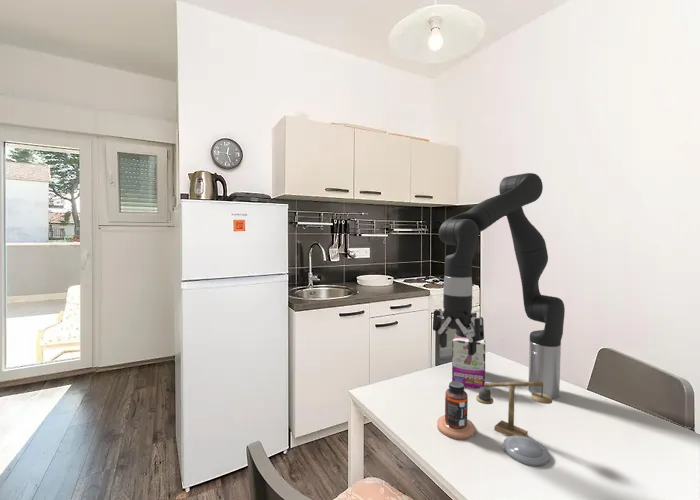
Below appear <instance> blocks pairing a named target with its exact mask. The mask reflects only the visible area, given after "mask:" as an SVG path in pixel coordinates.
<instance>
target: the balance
mask: <svg viewBox="0 0 700 500" xmlns="http://www.w3.org/2000/svg"><path fill="white" fill-rule="evenodd" d="M484 386H485V387H480V388H479V389H478V394H477V395H476V398H475V399H476V401H477V402H478V403H481V404H483V405H492V404H494V398H493V397H492V390H491V388H492V387H499V388H500V387H501V388H502V387H508V409H507V410H508V412H507V415H508V418H507V419H508V420H507V421H508V422H507V421H505V420H502V419H501V420H499V422H497V423H496V424H495V425H494V427H493V428H494V429H493V430H494V431H495V432H496V433H497V432H498V433H499V434H502V435H504V436H506V437H509V436H524V437H528V435H529V433H528V432H529V431H528V430H526V429H524V428H522V427H519V426H517V425H515V423H514V422H515V397H516V395H515V394H516V392H515V390H516V389H515V387H528V386H542V389H541V393H531V399H532V400H533V401H534V402H537V403H539V404H544V405H546V404H547V405H551V404H552V403H553V399H554V398H552V397H550V396H549V395H546V394H543V382H529V381H513V382H510V381H509V382H508V381H507V382H485V383H484Z"/></svg>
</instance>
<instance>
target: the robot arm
mask: <svg viewBox="0 0 700 500" xmlns="http://www.w3.org/2000/svg"><path fill="white" fill-rule="evenodd" d="M543 187H544V186H543V182H542V179H541V176H539V175H538V174H536V173H533V172H526V173H521V174H520V173H519V174H515V175H509V176H505V177H503V178H502V179H501V181H500V183H499V187H498V189H499V194H498V195H495V196H492V197H489V198H487V199H485V200H482V201H480V202H479V203H478V204H476V205H475V206H473V207H472V208H470V209H468V210H467V211H464V212H461V213H459V214H456V215H455V216H452V217H450V218H447V219H446V220H444V222H442V224H441V225H440V227H439V229H438V238H439V239H440V241H441V242H442V243H443V244H445V245H449V246H457V247H456V251H455V252H454V253H452V254H451V253H450V254H448V255H446V256H445V258H444V279H443V287H442V288H443V291H442V292H443V293H442V294H443V296H442V297H443V302H442V305H443V306H442V307H443V310H442V309H440V308H439V309H436V310H434V311H433V321H432V330H433V331H434V332H437V333H438V344H439V346H440V348H443V349H445V348H446V347H447V345H448V333H447V332H448V331H449V329H450V330H455V331H456V330H458V331H462V332H463V334H464V335H466V337H467V338H468V340H469V342H468V355H469V356H472V355H474V354H475V353H476V349H477V342H478V341H481V340H485V330H484V328H485V327H484V318H483V317H482V316H480V317H474V316H473V315H472V311H473V281H472V274H473V273H472V270H473V269H472V267H473V266H472V264H473V263H472V262H473V259H474V255H475V252H476V248H477V247H478V246H477V245H478V242H479V239H480V238H479V237H480V232H482V231H483V232H484V231H485V230H486V229H488V228H490V227H491V226H492V225H493V224H495V223H496V222H498V221H499V220H501V219H503V218H504V217H505V216H506V219H507V223H508V226H509V229H510V234H511V238H512V244H513V249H514V254H515V259H516V262H517V266H518V270H519V276H520V281H521V289H522V299H523V307H524V312H525V314H526V317H527V318H529V319H530V320H532V321H535V322H540V323H543V324H544V328H543V329H540V330H533V331H531V332H530V334H529V348H528V349H529V352H528V355H529V357H528V382H543V394H546V395H549V396H550V397H552V399H555V398H556V399H557V398H559V396H560V383H561V350H562V348H561V347H562V338H563V334H564V324H565V313H566V312H565V311H566V308H565V303H564V301H563V299H561V298H560V297H558V296H557V297H556V296H552V295H551V296H550V295H545V294H541V292H540V288H539V286H540V284H539V282H540V281H539V280H540V278H541V276H542V274H543V272H544V270H545V269H546V267H547V266H548V265H547V264H548V261H549V255H548V248H547V244H546V241H545V240H546V239H545V238H544V236H543V235H542V234H541V232H540V231H539V230H538V229H537V228H536V227H535V225H533V224H532V223H531V221H530V220H529V219H528V217H527V216H526V215H525V212H524V209H523V207H525V206H527V205H529V204H532V203H534V202H536V201H537V200H538V199H539V198H540V197H541V195H542V194H543V189H544V188H543ZM442 319H444V322H443V323H442ZM471 325H474V326H475V333H474V329H473V328H472V326H471ZM466 328H467V329H468V330H467V329H466ZM527 387H528V391H529V393H531V394H533V393H541V389H542V386H527Z"/></svg>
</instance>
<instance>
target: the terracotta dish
mask: <svg viewBox="0 0 700 500" xmlns="http://www.w3.org/2000/svg"><path fill="white" fill-rule="evenodd" d="M436 423H437V424H436V428H437V430H438V432H440V433H441V434H442V435H444V436H446V437H448V438H449V439H450V438H451V439H454V440H468V439H471V438H473V437H474V436H475V433H476V427H475V424H474V423H473V422H472V421H471V420H470V419H468V418H467V426H466V427H465V428H462V429H456V428H452V427H450V426H448V425H447V424H446V422H445V414H444V415H442V416H440V417H438V418H437V420H436Z"/></svg>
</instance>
